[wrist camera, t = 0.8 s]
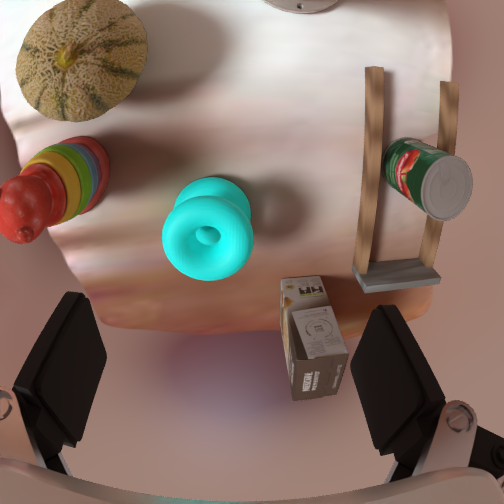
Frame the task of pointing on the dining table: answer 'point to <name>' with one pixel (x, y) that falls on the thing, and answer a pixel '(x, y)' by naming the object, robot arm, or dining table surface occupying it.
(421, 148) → the canned tomato
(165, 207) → the dining table surface
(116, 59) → the cantaloupe
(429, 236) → the bay
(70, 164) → the stacking bear
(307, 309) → the coffee box
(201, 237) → the donuts
